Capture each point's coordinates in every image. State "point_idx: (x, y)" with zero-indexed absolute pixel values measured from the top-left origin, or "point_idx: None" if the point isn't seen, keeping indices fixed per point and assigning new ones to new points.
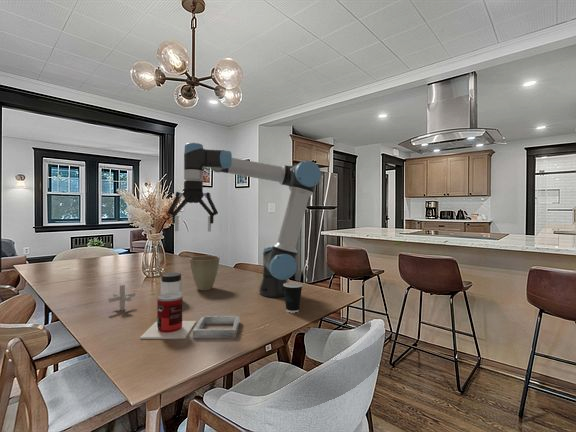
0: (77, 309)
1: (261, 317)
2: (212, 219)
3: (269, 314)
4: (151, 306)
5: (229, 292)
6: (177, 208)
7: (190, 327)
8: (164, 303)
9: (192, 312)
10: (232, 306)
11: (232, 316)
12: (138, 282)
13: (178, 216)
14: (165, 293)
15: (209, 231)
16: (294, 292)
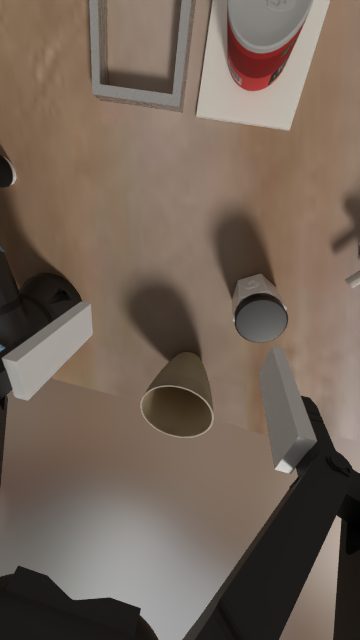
0: None
1: (59, 134)
2: (11, 346)
3: (46, 154)
4: (296, 266)
5: (139, 326)
6: (314, 529)
7: (207, 56)
8: None
9: (207, 202)
10: (126, 230)
11: (108, 89)
12: None
13: (274, 459)
14: (269, 285)
15: (81, 302)
16: None
